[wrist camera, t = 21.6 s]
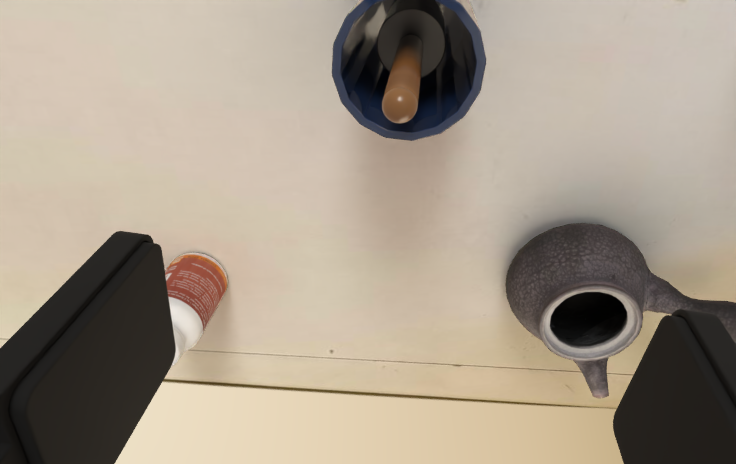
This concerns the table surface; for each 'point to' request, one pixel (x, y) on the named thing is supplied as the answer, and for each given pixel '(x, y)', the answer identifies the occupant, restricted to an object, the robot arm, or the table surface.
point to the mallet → (409, 53)
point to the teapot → (592, 296)
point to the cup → (437, 90)
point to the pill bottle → (193, 297)
